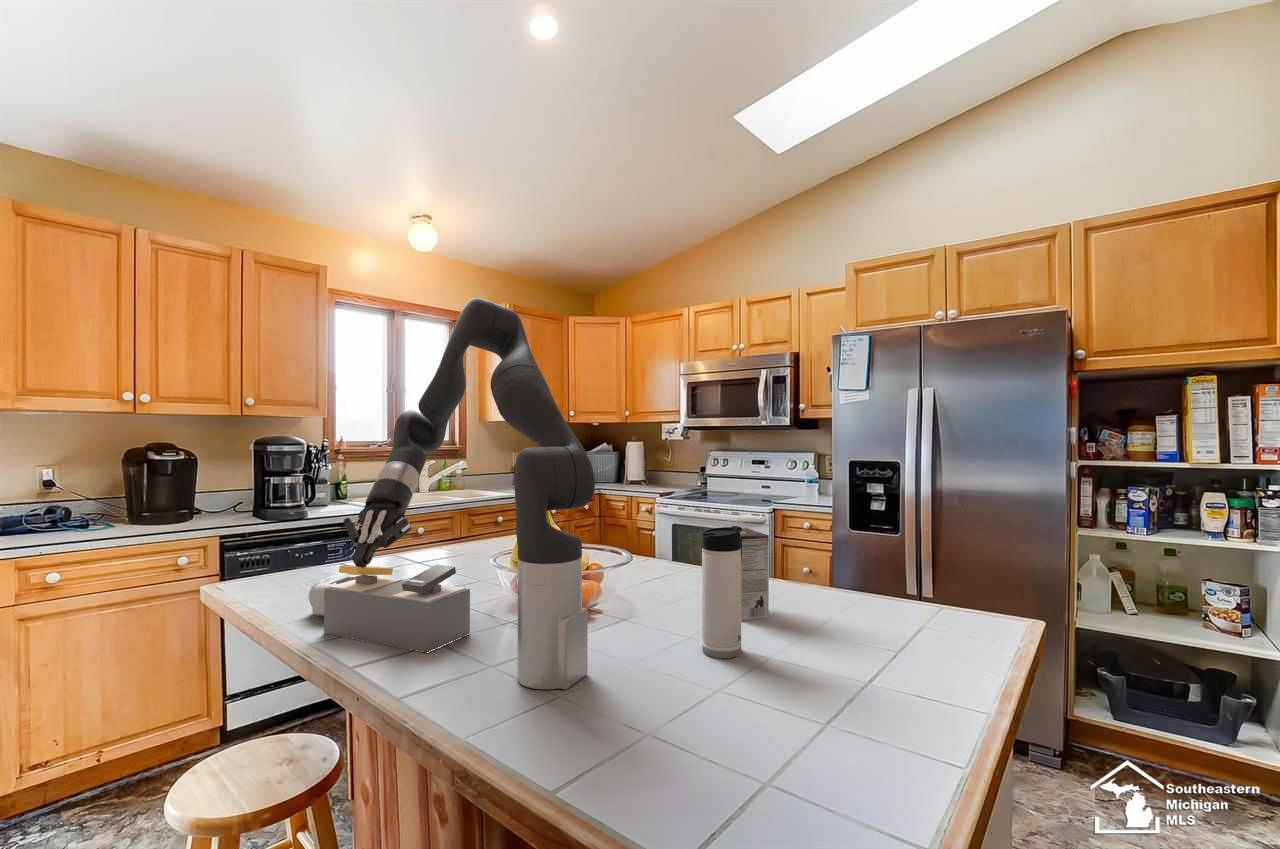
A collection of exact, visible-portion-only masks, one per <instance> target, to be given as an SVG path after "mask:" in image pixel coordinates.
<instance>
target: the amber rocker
mask: <svg viewBox="0 0 1280 849" xmlns="http://www.w3.org/2000/svg"><path fill="white" fill-rule="evenodd" d="M393 570H394V568H393V567H385V566H378V565H377V566H376V565H375V566H374V565H372V566H371V565H367V566H366V567H360V566H356V565H353V564H352V565H348V564H347V565H339V568H338V574H339V573H340V574H345V575H355V576H359V575H370V576H392V574H393Z"/></svg>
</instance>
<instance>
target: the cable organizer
mask: <svg viewBox="0 0 1280 849" xmlns="http://www.w3.org/2000/svg"><path fill="white" fill-rule="evenodd" d="M356 576H357V575H353V574H334V575H330V576H328V577H325V578H322V579H319V580H317V581H316V582H315V583H313V585H312V586H311V587H310V589H309V591H308V592H309V593H308V601H309V604H310V606H311V608H312V614H313V615H314V616H323V617H324V588H327V587H329V586H332V585H336V584H340V583H344V582H347V581H351V580H355V579H356Z"/></svg>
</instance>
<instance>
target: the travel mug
mask: <svg viewBox="0 0 1280 849" xmlns="http://www.w3.org/2000/svg"><path fill="white" fill-rule="evenodd" d="M740 531H742V527H741V526H738V525H732V526H731V527H730V526H724V527H722V526H721V527H715V528H710V529H707V530H704V531H703V532H702V535H701V540H702V547H701V551H702V552H701V571H702V572H701V596H702V598H701V600H702V601H701V602H702V603H701V605H702V606H701V611H702V612H701V614H702V615H701V618H702V619H701V621H702V623H701V624H702V626H701V628H702V629H701V630H702V634H701V635H702V639H701V640H702V652H703V654H705V655H706V656H708V657H711V658H715V659H732V658H736V657H738V656H740V655H741V653H742V621H741V553H740V552H741V545H740Z"/></svg>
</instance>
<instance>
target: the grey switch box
mask: <svg viewBox="0 0 1280 849" xmlns="http://www.w3.org/2000/svg"><path fill="white" fill-rule="evenodd" d="M355 576H356V579H355V580H351V581H347V582H344V583H340V584H336V583H335V584H336V585H332V586H329V587H327V588H324V616H323V634H325V635H331V636H334V635H336V637H339V636H341V637H340V638H345V637H347V638H346V639H350V638H354V639H353V640H355V639H358V640H357V641H360V640H363V641H362V642H365V641H368V642H367V643H370V642H372V643H371V644H376V643H377V644H376V645H381V644H382V646H386V645H387V647H391V646H392V648H396V647H397V648H398V649H402V648H405V649H404V650H407V649H412V650H418V651H423V652H429V651H431V650H433V649H436V648H438V647H440V646H442V645H444V644H447V643H449V642H451V641H454V640H456V639H458V638H460V637H463V636H465V635H467V634H469V633H471V628H470V627H471V625H470V624H471V623H470V622H471V588H466V587H462V586H457V585H448V584H447V585H446V584H440V583H439V584H437V585H436V586H434V587H433V588H431V589H429V590H428V591H426V592H424V593H417V592H410V591H403V588H402V583H404V582H406V581H407V579H406V580H404V579H400V578H393V577H386V576H380V575H355ZM465 637H466V636H465ZM463 638H464V637H463ZM454 642H455V641H454ZM412 650H411V651H412Z"/></svg>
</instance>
